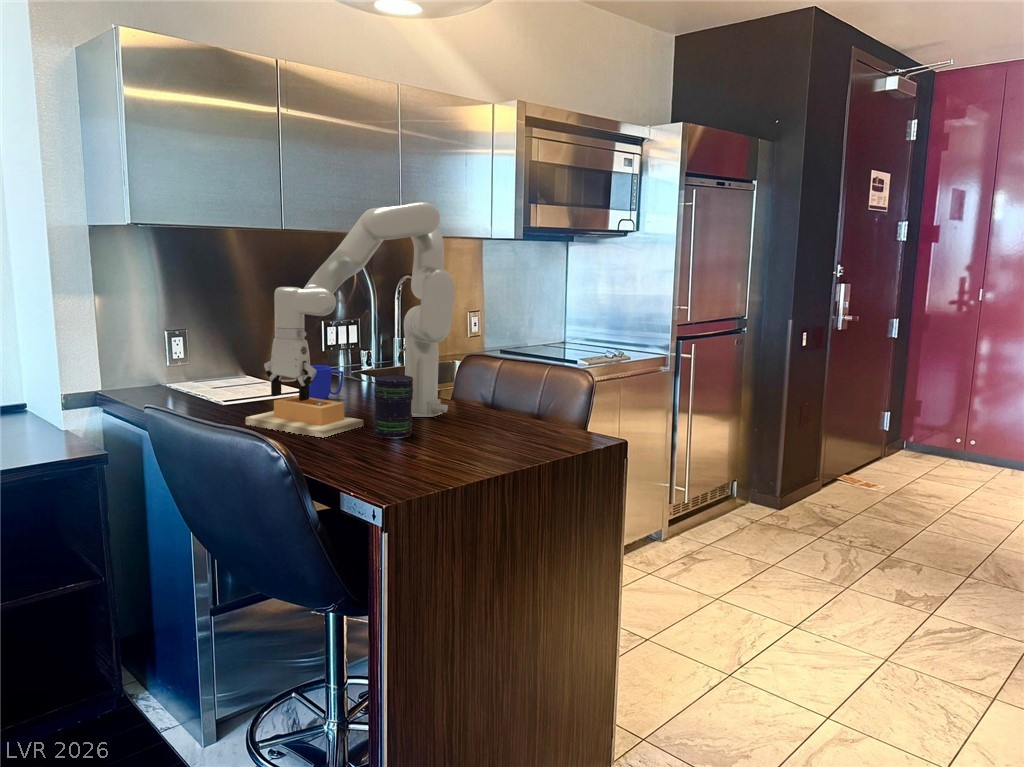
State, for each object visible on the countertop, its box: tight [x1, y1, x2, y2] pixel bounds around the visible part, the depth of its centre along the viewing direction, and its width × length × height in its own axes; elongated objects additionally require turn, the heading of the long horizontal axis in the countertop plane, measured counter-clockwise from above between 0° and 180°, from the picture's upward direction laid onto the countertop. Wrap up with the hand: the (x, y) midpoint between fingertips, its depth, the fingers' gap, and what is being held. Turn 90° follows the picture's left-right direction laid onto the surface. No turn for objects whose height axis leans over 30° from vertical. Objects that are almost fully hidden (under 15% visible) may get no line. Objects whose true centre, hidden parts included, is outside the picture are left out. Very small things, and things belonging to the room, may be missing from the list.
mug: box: [309, 364, 344, 400], centre depth 235 cm, size 8×12×10 cm
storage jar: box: [373, 374, 413, 437], centre depth 194 cm, size 10×10×15 cm
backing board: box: [245, 410, 364, 438], centre depth 200 cm, size 26×16×2 cm, turn 63°
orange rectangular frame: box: [273, 395, 345, 426], centre depth 200 cm, size 16×9×4 cm, turn 63°
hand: (290, 397), depth 203 cm, fingers open, 9 cm apart
